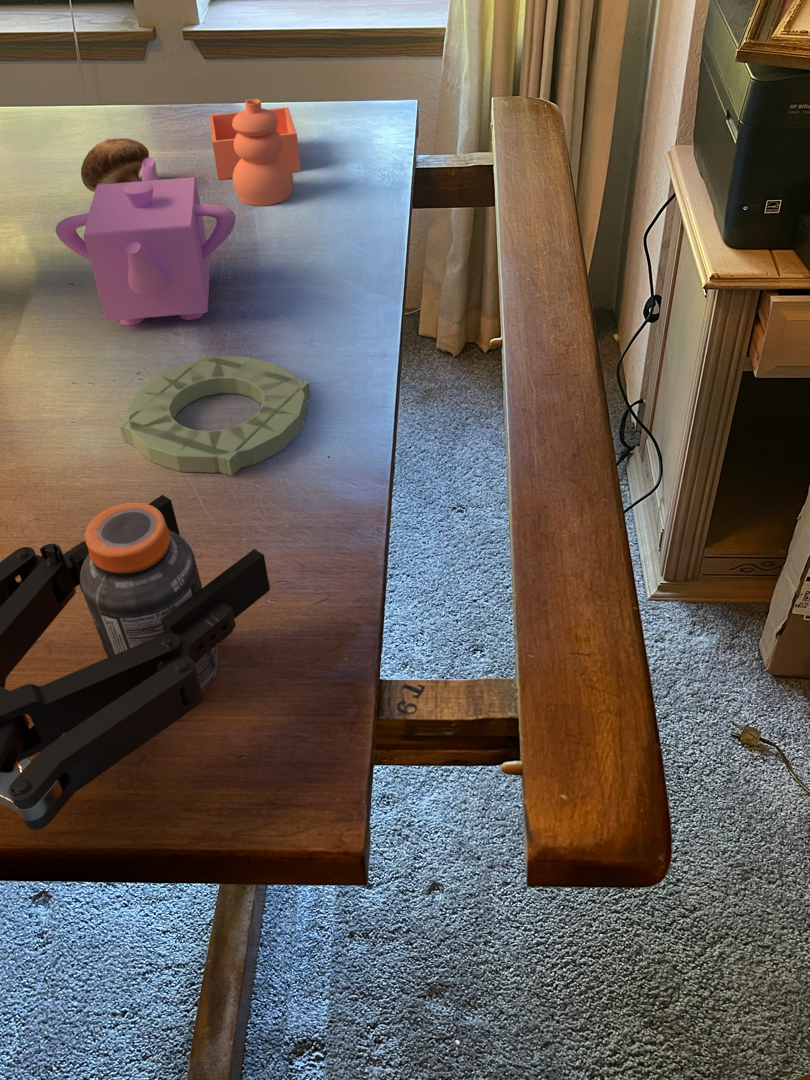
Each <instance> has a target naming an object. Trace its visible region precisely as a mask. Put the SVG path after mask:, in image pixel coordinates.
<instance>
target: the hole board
mask: <svg viewBox="0 0 810 1080" xmlns="http://www.w3.org/2000/svg"><path fill="white" fill-rule="evenodd" d="M220 394H228V395H230V394H231V395H236V394H237V395H242V396H245V397H249V398H252V399H253V400H254V401H256V402H258V403H259V404H260V405H261V406H260V409H259V410H258V411H257V412H256V413H255V414H254V415H253V416H252V417H250V418H249V419H247V420H245V421H243V422H241V423H239V424H236V425H235V426H232V427H227V428H222V429H217V430H199V429H198V430H196V429H193V428H189V427H187V426H184V425H181V424H180V423H178V422H177V421H176V420H175V419H176V417H177V415H178V413H179V412H180V411H181V410H183V409H184V408H185V407H186V406H187V405H188V404H191V403H192V402H194V401H197V400H199V399H201V398H204V397H210V396H214V395H220ZM311 399H312V393H311V383H310V381H307V380H302V379H298V377H297V376H295V375H294V374H292V373H291V372H290V371H288V370H286V369H285V368H284V367H283V366H281V365H280V364H277V363H273V362H270V361H266V360H262V359H258V358H254V357H250V356H213V355H209V354H206V353H205V354H204V355H203V356H201V357H200V358H199V359H197V360H192V361H189V362H186V363H183V364H181V365H178V366H176V367H174V368H171V369H169V370H166V371H165V372H162V373H160V374H157V375H156V376H155V377H154V378H152V379H151V380H150V381H148V382H147V383H146V384H145V385H143V386H142V387H141V388H140V389H139V390H137V391H136V393H135V395H134V397H133V398H132V401H131V403H130V405H129V406H128V408H127V410H126V415H127V418H126V419H125V420H124V421H122V422H121V423H120V424H119V425H118V428H119V431H120V435H121V439H122V441H123V443H127V444H130V445H133V446H134V447H135V448H136V449H137V450H138V451H139V452H141V454H143V455H144V456H145V457H146V459H148V460H149V461H150V462H152V463H154V464H155V465H159V466H162V467H166V468H169V469H172V470H174V471H177V472H181V473H209V474H210V473H212V474H216V473H220V474H224V475H227V476H229V477H233V476H234V475H236V473H238V472H239V471H240V469H241V468H245V467H246V468H247V467H250V466H254V465H256V464H258V463H260V462H262V461H264V460H266V459H268V458H270V457H272V456H274V455H276V454H278V453H280V452H282V451H283V450H284V449H285V448H286V447H287V446H288V445H290V443H291V442H292V441H293V440H294V439H295V438H296V437H297V436H298V435H299V434H300V433H301V432H302V430H303V426H304V422H305V419H306V415H307V411H308V409H307V403H308V402H309V400H311Z"/></svg>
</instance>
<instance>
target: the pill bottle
mask: <svg viewBox="0 0 810 1080" xmlns="http://www.w3.org/2000/svg"><path fill="white" fill-rule="evenodd" d="M148 504H149V503H144V502H136V501H135V502H134V501H133V502H125V503H119V504H116V505H113V506H111V507H108V508H106V509H104V510H102V511H101V512H100V513H98V514H97V515H95V516H94V517H93V518H92V519H91V520H90V522H89V523H88V525H87V527H86V528H85V533H84V541H86V544H87V547H88V550H89V554H88V555H87V557H86V559H85V560H84V562H83V565H82V568H81V572H80V584H81V588H80V590H81V589H82V591H83V592H82V591H81V592H82V595H83V597H84V600H85V602H86V606H87V609H88V610H89V613H90V615H91V618H92V620H93V624H94V626H95V629H96V631H97V634H98V636H99V638H100V641H101V645H102V648H103V650H104V652H105V654H106V658H109V657H111V656H113V655H116V654H118V653H120V652H123V651H125V650H127V649H130V648H132V647H134V646H137V645H139V644H142V643H144V642H146V641H149V640H151V639H153V638H156V637H158V636H160V635H163V634H165V633H164V630H163V626H162V623H161V619H162V618H164V617H165V616H166V615H168V614H169V613H170V612H171V611H173V610H174V609H175V608H177V607H178V606H179V605H181V604H182V603H183V602H185V601H186V600H187V599H189V598H190V597H191V596H193V595H194V594H195V593H197V592H198V591H199V590H200V589H202V588H203V585H202V584H203V583H202V581H201V577H200V573H199V570H198V565H197V561H196V557H195V554H194V551H193V550H192V548H191V546H190V544H189V543H188V542H187V540H185V538H183V537H182V536H181V535H178V534H176V533H175V532H172V531H170V530H169V529H168V527H167V525H166V522H165V519H164V517H163V515H162V513H161V512H160V511H159V510H158V509H157V508H155V507H154V506H151V505H148ZM220 659H221V657H220V651H219V646H218V644H217V645H216V646H215V647H214V648H213V649H212V650H210V651H209V652H208V653H207V654H205V655H204V656H203V657H202V658H200V659H199V660H198V661H197V662H196V663H195V667H196V671H197V674H198V678H199V681H200V685H201V689H202V692H204V691H205V690H206V689H207V688H208V687H209V686H210V685H211V683H212V682H213V680H214V679H215V677H216V675H217V673H218V671H219V666H220V661H221V660H220ZM158 665H161V662H160V663H159V664H158ZM158 665H157V666H158Z"/></svg>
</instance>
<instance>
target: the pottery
mask: <svg viewBox="0 0 810 1080" xmlns="http://www.w3.org/2000/svg"><path fill="white" fill-rule="evenodd" d="M244 106H245V109H243V110H241V111H235V112H225V113H224V112H223V113H216V114H208V121H209V128H210V135H211V143H212V147H213V148H212V149H213V155H214V161H215V168H216V173H217V179H218V181H219V180H226V179H227V180H228V179H232V184H233V188H234V191H235V193H236V196H237V199H238V200H239V201H240V202H241V203H242V204H245V205H249V206H262V207H263V206H271V205H276V204H279V203H282V202H285V201H286V200H288V199H289V198H290V197H291V196H292V192H293V191H292V190H293V183H294V177H293V173H295V172H301V161H300V151H299V142H298V133H297V130H296V127H295V124H294V121H293V117H292V114H291V111H290V108H289V107H288V106H287V107H277V108H262V101H261V100H260V99H258V98H249V99H246V100H245V101H244Z"/></svg>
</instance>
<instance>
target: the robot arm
mask: <svg viewBox="0 0 810 1080" xmlns="http://www.w3.org/2000/svg"><path fill="white" fill-rule="evenodd" d="M147 504H148V505H151V506H154V507H155V508H157V509H158V510H159V511H160V512H161V513H162V515H163V517H164V519H165V522H166V525H167V527H168V529H169V530H170V531H172V532H175V533H176V534H178V535H179V536H181V533H180V530H179V526H178V522H177V518H176V513H175V510H174V507H173V502H172V499H171V498H169V497H167V496H166V495H164V494H162V495H160V496H158V497H156V498H155V499H154V500H152V501H150V502H149V503H147ZM39 551H40V554H41V555H39V554H36V551H35V549H34V548H33V547H30V546H23V547H19V548H17V549H16V550H14V551H13V552H12V553H10V554H9V555H8V556H6V557H5V558H3V559H1V561H0V806H3V807H5V808H7V809H9V810H11V811H13V812H15V813H17V814H19V815H20V817H21V820H22V821H23V823H24V825H25V827H26V828H28V829H29V830H31V831H39V830H43V829H44V828H46V827H47V826H48V825H49V824H51V822H52V821H53V820H54V819H55V818H56V816H57V815H58V814H59V812H60V811H61V810H62V809H63V808H64V807H65V805H66V804H67V802H69V800H71V798H72V797H73V796H74V794H75V793H77V792H78V791H79V790H81V789H82V788H84V787H85V786H86V785H88V784H89V783H91V782H92V781H94V780H95V779H96V778H98V777H99V776H100V775H102V774H104V773H105V772H106V771H108V770H110V769H111V768H112V767H114V766H115V765H116V764H118V763H119V762H120V761H122V760H123V759H125V758H126V757H127V756H129V755H131V754H132V753H133V752H134V751H136V750H138V749H140V747H142V746H143V745H144V744H146V743H147V742H149V741H150V740H152V739H153V738H154V737H156V736H158V735H159V734H160V733H162V732H163V731H164V730H166V729H167V728H169V727H170V726H171V725H173V724H174V723H176V722H177V721H179V720H180V719H181V718H183V717H184V716H186V715H187V714H188V713H190V712H191V711H193V710H194V709H195V708H197V707H198V706H199V705H200V704H202V702H203V701H204V693H203V692H204V691H202V689H201V685H200V681H199V678H198V674H197V671H196V667H195V663H196V662H197V661H198V660H199V659H200V658H202V657H203V656H204V655H205V654H207V653H208V652H209V651H210V650H212V649H213V648H214V647H215V646H216V645H217V646H218V645H219V644H220V643H221V642H223V641H224V640H226V638H228V637H229V636H230V635H231V634H233V632H234V630H235V628H236V627H237V624H236V620H235V619H236V618H237V617H239V616H240V615H241V614H243V613H245V611H247V609H249V608H250V607H251V606H252V605H254V604H255V603H256V602H257V601H259V600H260V599H262V597H264V596H265V595H266V594H267V593H269V592H270V591H271V585H270V581H269V574H268V569H267V564H266V558H265V554H264V553H262V552H260V551H259V550H257V549H255V548H253V549H252V550H250V551H249V552H248V553H246V554H245V555H244V556H243V557H241V558H240V559H239V560H238V561H236V562H235V563H233V564H232V565H231V566H229V567H228V568H227V569H226V570H224V571H222V573H220V574H219V575H217V576H216V577H215V578H214V579H212V580H211V581H210V582H208V583H206V584H205V585H204V586H202V589H200V590H199V591H198V592H197V593H195V594H194V595H193V596H191V597H190V598H189V599H187V600H186V601H185V602H183V603H182V604H181V605H179V606H178V607H177V608H175V609H174V610H173V611H171V612H170V613H169V614H168V615H166V616H165V617H164V618H162V619H161V623H162V626H163V630H164V633H165V634H163V635H160V636H158V637H156V638H153V639H151V640H149V641H146V642H144V643H142V644H139V645H137V646H134V647H132V648H130V649H127V650H125V651H123V652H120V653H118V654H116V655H113V656H111V657H109V658H108V657H106V658H104V659H101V660H99V661H96V662H95V663H92V664H90V665H88V666H85V667H83V668H81V669H78V670H76V671H73V672H71V673H69V674H66V675H64V676H62V677H59V678H57V679H54V680H52V681H49V682H47V683H45V684H43V685H36V684H33V683H26V684H24V685H21V686H19V687H17V688H14V689H11V690H9V689H7V688H6V681H7V679H8V677H9V675H10V674H11V673H12V672H13V670H15V668H16V667H17V666H18V664H19V663H20V662H21V660H22V659H23V658H24V657H25V656H26V655H27V653H28V652H30V650H31V649H32V648H33V646H34V645H35V643H37V642H38V640H39V639H40V637H41V636H42V635H43V634H44V633H45V631H46V630H47V629H48V628H49V627H50V625H51V624H52V623H53V622H54V621H55V619H56V618H57V617H58V616H59V614H60V613H61V612H62V611H63V609H64V608H65V607H66V606H67V605H68V603H70V601H71V600H72V599H73V597H74V596H75V595H76V593H77V588H76V587H78V586H79V588H80V590H81V593H83V591H82V589H81V584H80V572H81V568H82V565H83V562H84V560H85V559H86V557H87V555H88V554H89V550H88V547H87V544H86V541H85V540H82V541H81V542H80V543H78V544H76V545H75V546H74V547H72V548H71V549H69V550H67V551H65V552H64V553H63V550H62V548H61V546H60V545H59V544H57V543H47V544H45V545H43V546H41V547H39ZM18 577H19V578H20V580H19V581H17V578H18ZM160 662H161V665H158V664H159V663H160ZM157 665H158V666H157ZM27 715H28V716H29V717H30V720H31V722H32V723H33V726H31V727H30V721H29V719H28V717H27ZM34 755H36V756H35V757H34V758H32V759H31V758H30V757H33V756H34ZM16 765H17V769H16Z"/></svg>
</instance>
